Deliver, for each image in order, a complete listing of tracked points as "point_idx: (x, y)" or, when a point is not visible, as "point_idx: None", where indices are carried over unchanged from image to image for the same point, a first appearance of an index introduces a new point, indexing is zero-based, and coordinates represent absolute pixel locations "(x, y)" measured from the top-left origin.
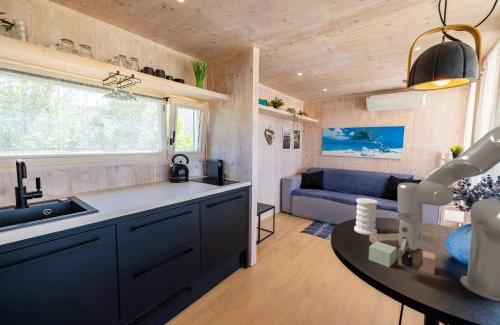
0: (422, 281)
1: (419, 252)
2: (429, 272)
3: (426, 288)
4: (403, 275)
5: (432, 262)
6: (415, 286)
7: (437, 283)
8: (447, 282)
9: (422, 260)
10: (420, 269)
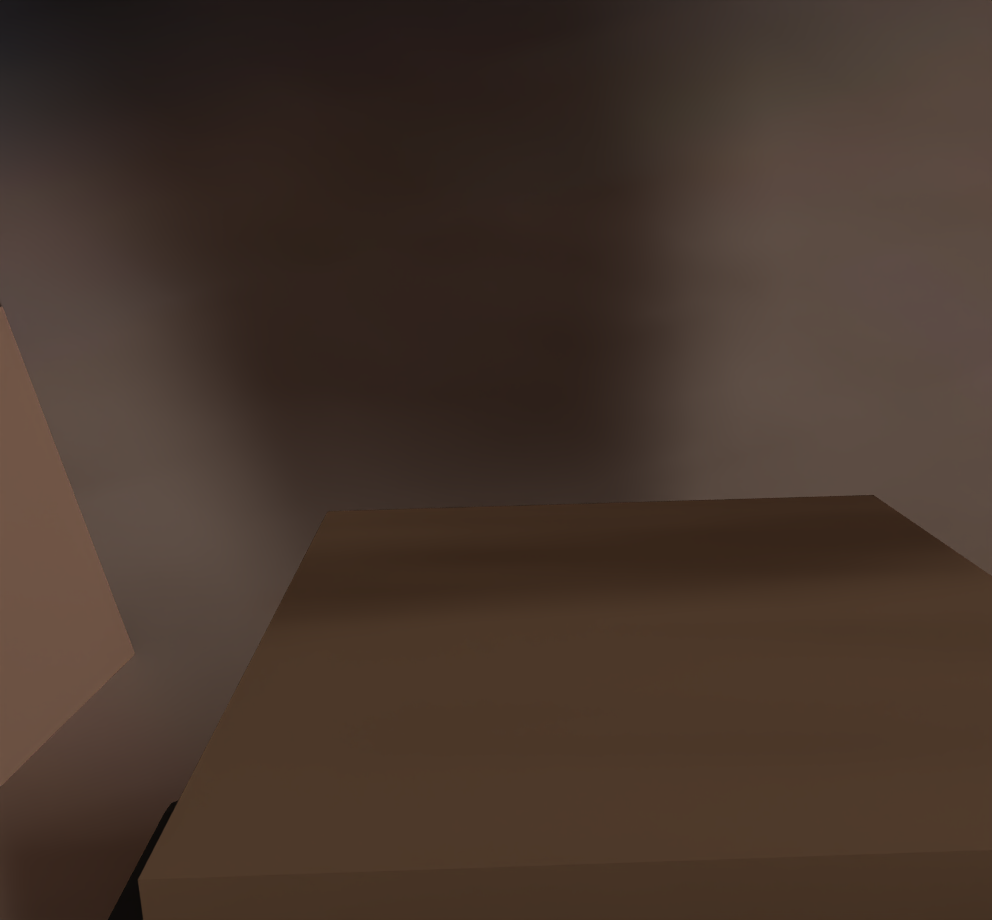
0: (567, 370)
1: (852, 856)
2: (23, 396)
3: (805, 222)
4: None
5: None
6: (917, 393)
7: (365, 136)
8: (109, 3)
9: (334, 571)
10: (83, 564)
